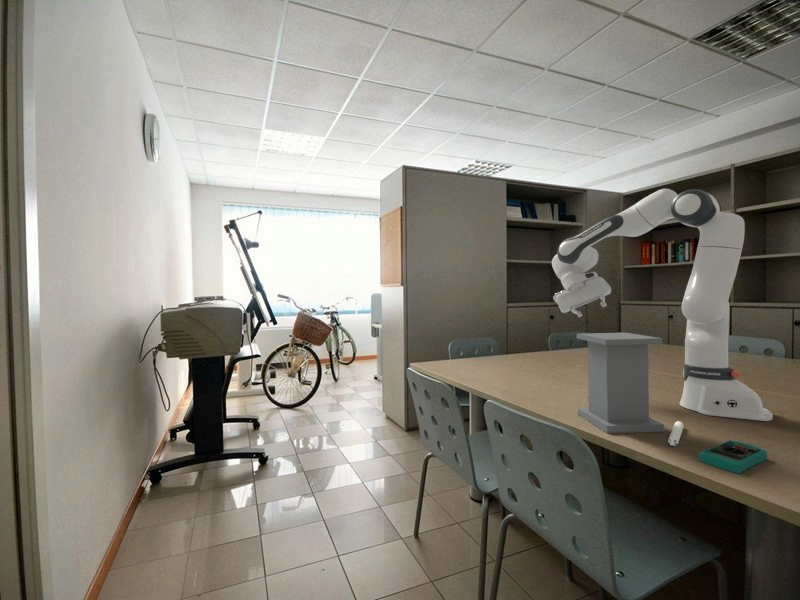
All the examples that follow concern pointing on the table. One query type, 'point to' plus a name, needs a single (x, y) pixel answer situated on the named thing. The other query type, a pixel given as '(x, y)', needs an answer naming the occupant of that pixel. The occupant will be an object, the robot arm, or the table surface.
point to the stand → (619, 382)
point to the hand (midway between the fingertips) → (592, 311)
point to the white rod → (676, 433)
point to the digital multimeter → (733, 456)
